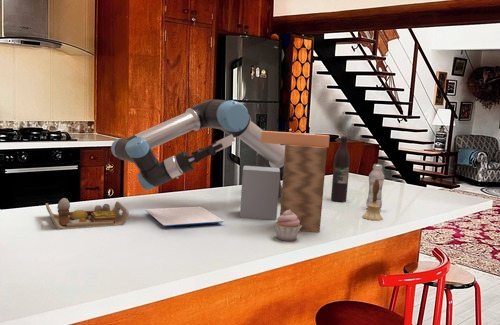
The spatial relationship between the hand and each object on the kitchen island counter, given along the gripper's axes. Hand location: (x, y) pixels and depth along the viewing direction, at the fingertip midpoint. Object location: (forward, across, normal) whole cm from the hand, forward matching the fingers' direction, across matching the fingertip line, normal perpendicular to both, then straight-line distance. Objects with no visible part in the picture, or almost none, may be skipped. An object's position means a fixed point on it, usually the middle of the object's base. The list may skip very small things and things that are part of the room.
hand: (232, 138), depth 182 cm
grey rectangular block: (-5, -13, -32) cm, 35 cm away
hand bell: (+35, -22, -55) cm, 69 cm away
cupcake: (+3, +16, -37) cm, 41 cm away
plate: (-29, +1, -19) cm, 35 cm away
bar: (+19, 0, -11) cm, 22 cm away
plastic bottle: (+38, -38, -56) cm, 78 cm away
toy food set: (-57, +11, -4) cm, 58 cm away
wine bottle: (+27, -52, -50) cm, 77 cm away
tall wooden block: (+8, 0, -39) cm, 40 cm away
